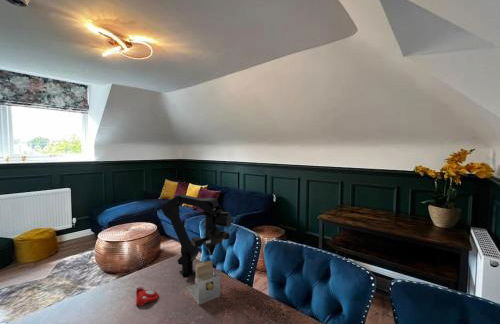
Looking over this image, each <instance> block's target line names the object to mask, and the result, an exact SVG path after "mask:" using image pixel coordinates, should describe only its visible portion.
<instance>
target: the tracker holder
mask: <svg viewBox="0 0 500 324" xmlns="http://www.w3.org/2000/svg"><path fill="white" fill-rule="evenodd" d="M135 291H136V292H135V294H136V299H135V300H136V301H135V305H136V306H139V307H142V306H143V305H145V304H146V303H149V302H154V301H157V300H158V299H159V293H158V292H157V291H154V290H152V289H145V287H142V286H138V287H136V288H135Z"/></svg>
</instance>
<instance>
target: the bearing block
mask: <svg viewBox="0 0 500 324" xmlns="http://www.w3.org/2000/svg"><path fill="white" fill-rule="evenodd" d="M209 282H211V283H212V284H213V285H214V289H213V290H212V291H210V290H209V289H208V288H207V287H206V283H209ZM186 289H187V290H188V293H189V294H190V295H191V296H192V298H193V300H195V302H196V304H197V305H202V304H205V303H207V302H210V301H212V300H215V299H217V298H220V297H221V275H220V273H218V272H217V271H213V273H210V274H207V275H204V276H201V277H198V278H196V277H195V278H194V284H190V285H188V286H186Z"/></svg>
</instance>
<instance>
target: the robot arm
mask: <svg viewBox="0 0 500 324" xmlns="http://www.w3.org/2000/svg"><path fill="white" fill-rule="evenodd" d="M182 204H183V205H188V206H192V207H196V208H198V209H200V210H201V211H203V212H202V213H200V215H201V216H204V225H203V228H204V234H203V236H204V237H200V235H199V236H194V237H192V238H191V239H190V236H189V235H188V233H187V230H186V228H185V226H184V223H183V221H182V219H181V217H180V216H181V215H180V212H181V211H180V206H182ZM161 211H162V213H163V215H164V217H165V218H167V219H168V220H170V223H171V225H172V227H173V229H174V232H175V234H176V236H177V239H178V242H179V244H180V254H181V256H180V257H179V258H178V259H177V264H178V265H181V270H179V273H180V275H181V276H182V278H186V277H189V276H192V275H196V270H194V260H196V259H197V257H198V255H199V250H200V249H199V247H202V246H203V245H205V246H206V248H207V251H208V253H209V255H210V256H213V255H214V252H215V248H216V246H217V245H218V244H222V242H223V240H230V239H231V234H230V233H229V232H227V231H226V230H221V231H219V227H224V228H229V227H231V225H232V223H233V218H232V215H231V214H230V213H231V212H230V211H224V210H223V209H222V207H221V206H220V204H219V202H218V199H217V198H215V197H212V198H211V197H208V198H207V197H206V198H201V197H195V196H191V195H186V194H183V193H180V194H177V195H175V196H174V197H173V198H171V199H170V200H169V201H167V202H165V203H163V204H162V206H161Z"/></svg>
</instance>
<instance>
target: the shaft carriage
mask: <svg viewBox="0 0 500 324" xmlns="http://www.w3.org/2000/svg"><path fill="white" fill-rule="evenodd" d="M213 264H214V263H213V261H212V260H207V261H203V262H199V263H196V264H195V278H198V277H201V276H204V275H207V274H210V273H213V272H214V270H213V269H214V268H213V267H214V265H213ZM206 287H207V288H208V289H209V290H210V291H212V290H213V289H214V285H213V284H212V283H211V282H209V283H206Z"/></svg>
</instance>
